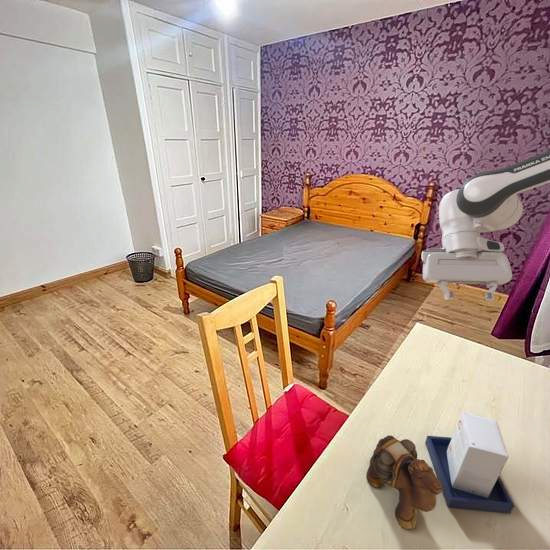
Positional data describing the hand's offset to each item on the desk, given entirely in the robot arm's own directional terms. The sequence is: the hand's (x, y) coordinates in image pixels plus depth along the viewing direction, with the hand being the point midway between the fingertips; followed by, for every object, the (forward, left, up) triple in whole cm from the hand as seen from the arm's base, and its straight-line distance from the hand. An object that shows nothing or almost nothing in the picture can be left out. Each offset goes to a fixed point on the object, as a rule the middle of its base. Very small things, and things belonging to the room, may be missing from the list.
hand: (469, 300), depth 76 cm
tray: (+7, +28, -26) cm, 39 cm away
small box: (+7, +28, -26) cm, 38 cm away
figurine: (+22, +33, -26) cm, 47 cm away
